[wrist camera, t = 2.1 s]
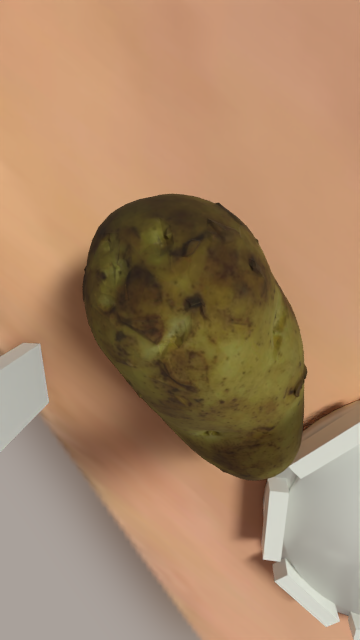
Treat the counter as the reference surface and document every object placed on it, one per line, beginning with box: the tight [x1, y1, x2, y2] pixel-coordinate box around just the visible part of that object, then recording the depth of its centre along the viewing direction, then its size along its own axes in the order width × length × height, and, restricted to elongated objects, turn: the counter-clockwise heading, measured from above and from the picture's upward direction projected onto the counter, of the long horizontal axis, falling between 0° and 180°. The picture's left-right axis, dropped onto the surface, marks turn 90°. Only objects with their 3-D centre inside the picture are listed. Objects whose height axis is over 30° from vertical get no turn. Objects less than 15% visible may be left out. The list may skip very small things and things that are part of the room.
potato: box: [83, 194, 307, 481], centre depth 13 cm, size 8×13×8 cm, turn 4°
